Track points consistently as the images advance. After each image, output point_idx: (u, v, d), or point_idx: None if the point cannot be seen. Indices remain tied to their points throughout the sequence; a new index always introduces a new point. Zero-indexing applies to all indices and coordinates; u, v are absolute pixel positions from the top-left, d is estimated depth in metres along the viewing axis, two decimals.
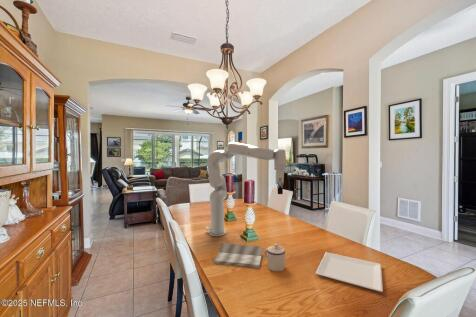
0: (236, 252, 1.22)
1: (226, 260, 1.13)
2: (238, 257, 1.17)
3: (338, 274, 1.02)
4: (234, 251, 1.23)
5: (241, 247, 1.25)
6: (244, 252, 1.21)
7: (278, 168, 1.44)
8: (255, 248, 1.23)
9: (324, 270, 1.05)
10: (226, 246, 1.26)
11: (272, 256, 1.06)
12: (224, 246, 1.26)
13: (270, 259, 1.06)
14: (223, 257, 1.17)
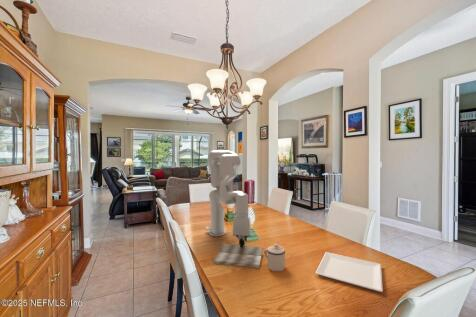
0: (236, 252, 1.22)
1: (226, 260, 1.13)
2: (238, 257, 1.17)
3: (338, 274, 1.02)
4: (234, 251, 1.23)
5: (241, 247, 1.25)
6: (244, 252, 1.21)
7: (247, 216, 1.24)
8: (255, 248, 1.23)
9: (324, 270, 1.05)
10: (226, 246, 1.26)
11: (272, 256, 1.06)
12: (224, 247, 1.26)
13: (270, 259, 1.06)
14: (223, 257, 1.17)
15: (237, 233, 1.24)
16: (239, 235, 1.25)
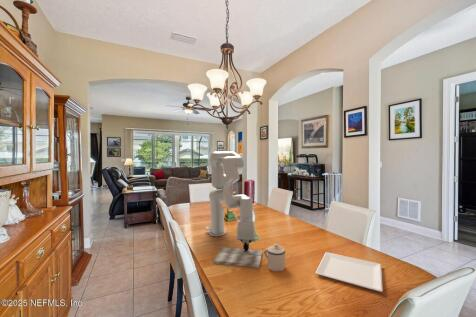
0: (236, 252, 1.22)
1: (226, 260, 1.13)
2: (238, 257, 1.17)
3: (338, 274, 1.02)
4: (234, 252, 1.23)
5: (241, 250, 1.25)
6: (244, 253, 1.22)
7: (251, 220, 1.23)
8: (255, 251, 1.24)
9: (324, 270, 1.05)
10: (226, 249, 1.27)
11: (272, 256, 1.06)
12: (224, 249, 1.27)
13: (270, 259, 1.06)
14: (223, 257, 1.17)
15: (242, 237, 1.22)
16: None
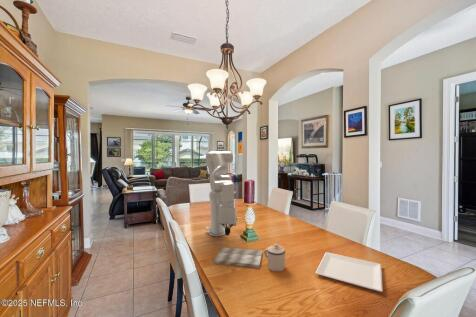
0: (236, 252, 1.22)
1: (226, 260, 1.13)
2: (238, 257, 1.17)
3: (338, 274, 1.02)
4: (234, 252, 1.23)
5: (241, 250, 1.25)
6: (244, 253, 1.22)
7: (233, 205, 1.25)
8: (255, 251, 1.24)
9: (324, 270, 1.05)
10: (226, 249, 1.27)
11: (272, 256, 1.06)
12: (224, 249, 1.27)
13: (270, 259, 1.06)
14: (223, 257, 1.17)
15: (223, 221, 1.25)
16: None
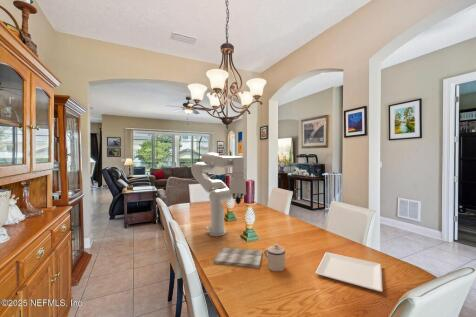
0: (236, 252, 1.22)
1: (226, 260, 1.13)
2: (238, 257, 1.17)
3: (338, 274, 1.02)
4: (234, 252, 1.23)
5: (241, 250, 1.25)
6: (244, 253, 1.22)
7: (243, 176, 1.39)
8: (255, 251, 1.24)
9: (323, 270, 1.05)
10: (226, 249, 1.27)
11: (272, 256, 1.06)
12: (224, 249, 1.27)
13: (270, 259, 1.06)
14: (223, 257, 1.17)
15: (234, 191, 1.39)
16: (236, 193, 1.40)
